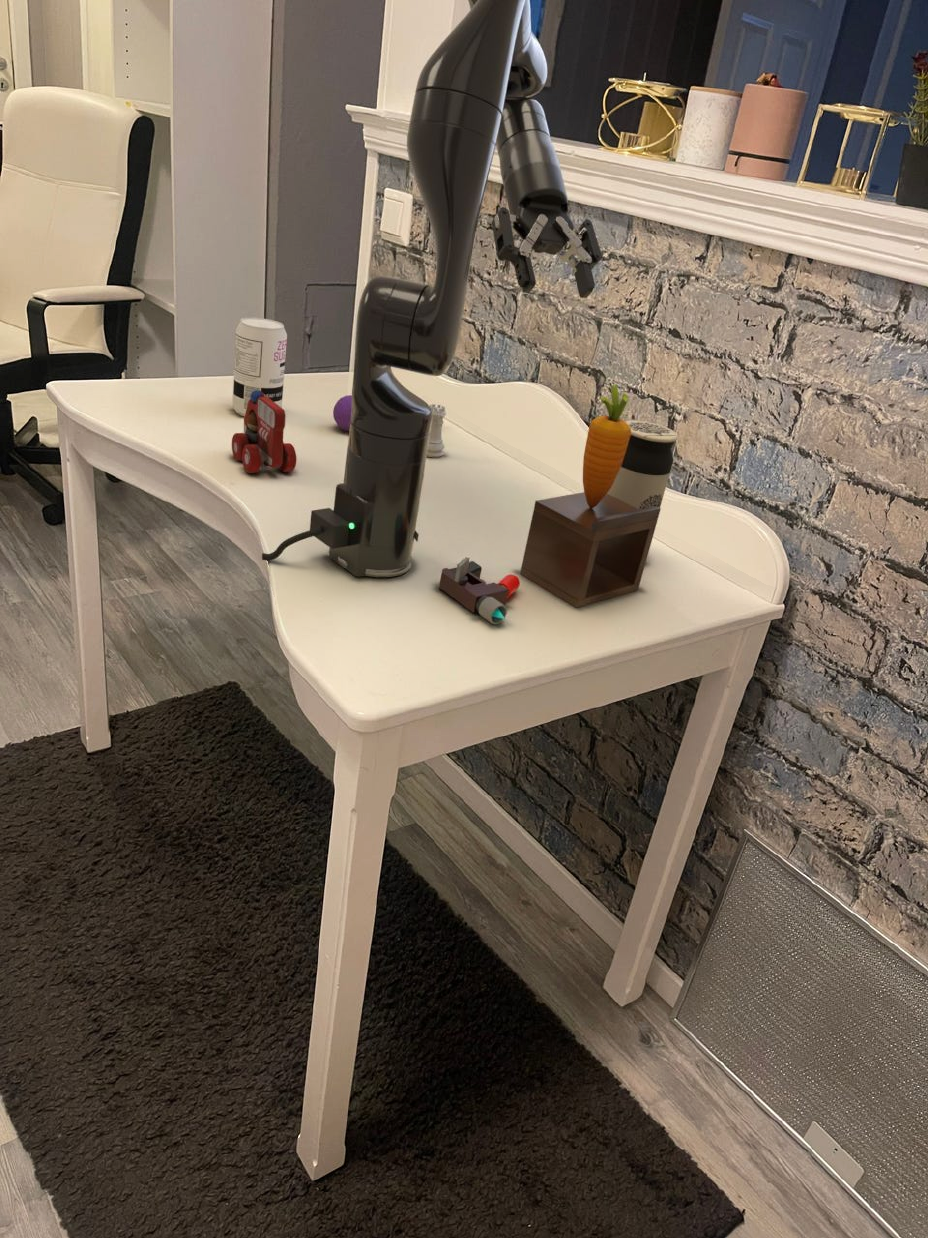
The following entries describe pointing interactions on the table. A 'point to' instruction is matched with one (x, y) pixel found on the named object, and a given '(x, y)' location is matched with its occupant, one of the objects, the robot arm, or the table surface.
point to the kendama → (343, 412)
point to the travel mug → (645, 465)
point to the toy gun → (478, 590)
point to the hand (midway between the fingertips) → (559, 291)
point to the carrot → (605, 449)
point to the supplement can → (258, 361)
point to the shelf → (588, 547)
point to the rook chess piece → (436, 432)
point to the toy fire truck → (263, 437)
